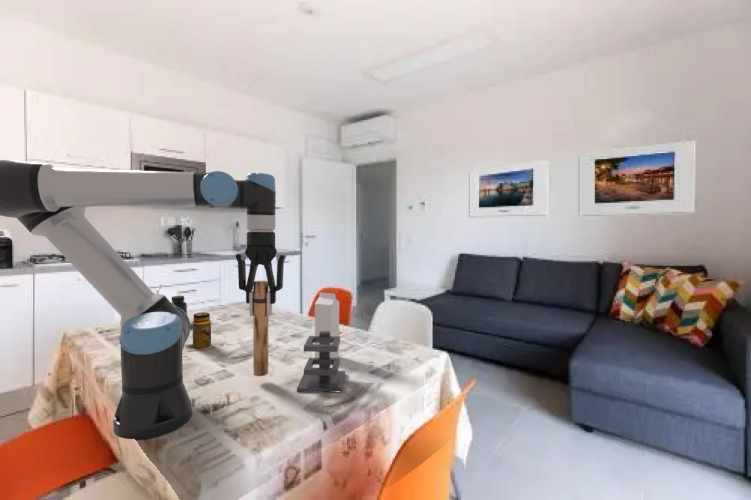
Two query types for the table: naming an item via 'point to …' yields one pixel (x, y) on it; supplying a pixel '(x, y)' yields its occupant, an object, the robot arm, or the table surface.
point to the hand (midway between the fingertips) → (260, 314)
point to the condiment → (201, 332)
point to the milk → (327, 318)
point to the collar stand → (322, 365)
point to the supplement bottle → (179, 302)
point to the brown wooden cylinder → (260, 328)
